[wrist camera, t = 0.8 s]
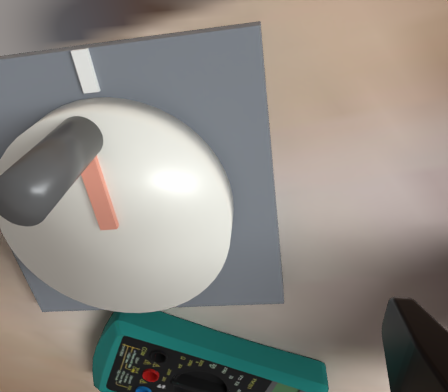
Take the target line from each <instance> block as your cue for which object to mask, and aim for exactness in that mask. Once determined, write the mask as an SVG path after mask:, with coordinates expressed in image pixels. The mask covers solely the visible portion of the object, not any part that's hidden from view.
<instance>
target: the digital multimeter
mask: <svg viewBox="0 0 448 392" xmlns="http://www.w3.org/2000/svg"><path fill="white" fill-rule="evenodd" d="M93 381H94V386H95V387H96V388H97V389H98V390H99V391H101V392H328V390H329V387H328V380H327V373H326V366H325V364H324V363H322V362H320V361H317V360H314V359H311V358H308V357H304V356H301V355H298V354H294V353H290V352H287V351H283V350H280V349H276V348H272V347H269V346H265V345H262V344H259V343H255V342H252V341H249V340H246V339H243V338H239V337H236V336H233V335H230V334H226V333H223V332H220V331H217V330H214V329H211V328H208V327H205V326H202V325H199V324H196V323H193V322H190V321H188V320H185V319H182V318H178V317H175V316H172V315H169V314H167V313H164V312H161V311H155V312H146V313H124V312H115V311H114V313H113V314H112V316H111V317H110V319H109V321H108V322H107V324H106V326H105V328H104V330H103V333H102V335H101V337H100V340H99V342H98V344H97V346H96V350H95V353H94V357H93Z"/></svg>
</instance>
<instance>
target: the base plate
mask: <svg viewBox="0 0 448 392" xmlns="http://www.w3.org/2000/svg"><path fill="white" fill-rule="evenodd" d="M102 97H111V98H122V99H128V100H133V101H137V102H141V103H144V104H147V105H150V106H153V107H156V108H158V109H160V110H162V111H164V112H166V113H168V114H170V115H172V116H174V117H175V118H177V119H178V120H180V121H182V122H183V123H185V124H186V125H187V126H189V127H190V128H191V129H192V130H193V131H195V132H196V133H197V134H198V135H199V136H200V137H201V138H202V139H203V140H204V141H205V142H206V143H207V144H208V145H209V147H210V148H211V149H212V151H213V152H214V153H215V155H216V156H217V157H218V159H219V161H220V163H221V165H222V166H223V168H224V170H225V172H226V175H227V177H228V180H229V183H230V186H231V191H232V195H233V206H234V212H233V223H232V231H231V239H230V247H229V251H228V255H227V258H226V260H225V263H224V265H223V267H222V269H221V271H220V272H219V274H218V275H217V277H216V279H215V280H214V281H213V282H212V283H211V284H210V285H209V286H208V287H207V288H206V289H205V290H204V291H202V292H201V293H200V294H199V295H197V296H196V297H194V298H192V299H191V300H189V301H187V302H185V303H183V304H180V305H178V306H175V307H196V306H225V305H254V304H283V303H284V291H283V279H282V267H281V256H280V244H279V232H278V221H277V209H276V198H275V186H274V174H273V163H272V151H271V140H270V128H269V116H268V105H267V93H266V82H265V70H264V58H263V47H262V35H261V23H260V21H259V22H252V23H244V24H237V25H229V26H222V27H214V28H207V29H199V30H192V31H184V32H177V33H169V34H162V35H154V36H147V37H139V38H132V39H124V40H117V41H109V42H102V43H94V44H87V45H79V46H72V47H64V48H57V49H49V50H42V51H34V52H27V53H19V54H12V55H4V56H0V159H1V157H2V156H3V154H4V153H5V151H6V149H7V148H8V147H9V146H10V145H11V143H12V142H13V141H14V140H15V139H16V138H17V137H18V136H20V135H21V134H22V133H24V132H25V131H26V130H27V129H29V128H30V127H31V126H33V125H34V124H35V123H37V122H38V121H39V120H41V119H42V118H43V117H45V116H46V115H47V114H49V113H50V112H51V111H53V110H55V109H57V108H59V107H61V106H63V105H66V104H69V103H72V102H75V101H78V100H83V99H89V98H102ZM11 250H12V249H11ZM12 252H13V250H12ZM13 254H14V256H15V258H16V260H17V262H18V264H19V266H20V268H21V270H22V272H23V274H24V276H25V278H26V280H27V282H28V284H29V286H30V288H31V290H32V292H33V294H34V296H35V298H36V300H37V302H38V304H39V306H40V308H41V310H42V312H52V311H81V310H104V309H100V308H96V307H93V306H89V305H86V304H84V303H81V302H79V301H76V300H74V299H72V298H70V297H68V296H66V295H64V294H62V293H60V292H58V291H57V290H55V289H53V288H52V287H50V286H49V285H47V284H46V283H44V282H43V281H42V280H40V279H39V278H38V277H37V276H36V275H34V274H33V273H32V272H31V271H30V270H29V269H28V268H27V267H26V266H25V265H24V264H23V263H22V262H21V261H20V260H19V258H18V257H17V256H16V254H15V253H14V252H13Z"/></svg>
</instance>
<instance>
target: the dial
mask: <svg viewBox="0 0 448 392" xmlns="http://www.w3.org/2000/svg"><path fill="white" fill-rule="evenodd" d="M233 212H234V206H233V195H232V191H231V186H230V183H229V180H228V177H227V175H226V172H225V170H224V168H223V166H222V165H221V163H220V161H219V159H218V157H217V156H216V155H215V153H214V152H213V151H212V149H211V148H210V147H209V145H208V144H207V143H206V142H205V141H204V140H203V139H202V138H201V137H200V136H199V135H198V134H197V133H196V132H195V131H193V130H192V129H191V128H190V127H189V126H187V125H186V124H185V123H183V122H182V121H180V120H178V119H177V118H175V117H174V116H172V115H170V114H168V113H166V112H164V111H162V110H160V109H158V108H156V107H153V106H150V105H147V104H144V103H141V102H137V101H133V100H128V99H122V98H111V97H102V98H89V99H83V100H78V101H75V102H72V103H69V104H66V105H63V106H61V107H59V108H57V109H55V110H53V111H51V112H50V113H49V114H47V115H46V116H45V117H43V118H42V119H41V120H39V121H38V122H37V123H35V124H34V125H33V126H31V127H30V128H29V129H27V130H26V131H25V132H24V133H22V134H21V135H20V136H18V137H17V138H16V139H15V140H14V141H13V142H12V143H11V145H10V146H9V147H8V148H7V149H6V151H5V153H4V154H3V156H2V157H1V159H0V229H1V232H2V234H3V236H4V238H5V239H6V241H7V243H8V245H9V246H10V248H11V249H12V250H13V252H14V253H15V254H16V256H17V257H18V258H19V260H20V261H21V262H22V263H23V264H24V265H25V266H26V267H27V268H28V269H29V270H30V271H31V272H32V273H33V274H34V275H36V276H37V277H38V278H39V279H40V280H42V281H43V282H44V283H46V284H47V285H49V286H50V287H52V288H53V289H55V290H57V291H58V292H60V293H62V294H64V295H66V296H68V297H70V298H72V299H74V300H76V301H79V302H81V303H84V304H86V305H89V306H93V307H96V308H100V309H104V310H109V311H115V312H124V313H146V312H155V311H160V310H166V309H169V308H172V307H175V306H178V305H180V304H183V303H185V302H187V301H189V300H191V299H192V298H194V297H196V296H197V295H199V294H200V293H201V292H202V291H204V290H205V289H206V288H207V287H208V286H209V285H210V284H211V283H212V282H213V281H214V280H215V279H216V277H217V275H218V274H219V272H220V271H221V269H222V267H223V265H224V263H225V260H226V258H227V255H228V251H229V247H230V239H231V231H232V223H233Z"/></svg>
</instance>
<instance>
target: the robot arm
mask: <svg viewBox="0 0 448 392" xmlns="http://www.w3.org/2000/svg"><path fill="white" fill-rule="evenodd" d="M382 339H383V346H384V352H385V358H386V365H387V371H388V378H389V384H390V390H391V392H448V331H447V330H445V329H444V328H443V327H442V326H441V325H440V324H439V323H438V322H437V321H436V320H435V319H434V318H433V317H432V316H431V315H430V314H428V313H427V312H426V311H425V310H424V309H423V308H422V307H421V306H420V305H419V304H418V303H417V302H416V301H415V300H413V299H411V298H405V297H392V298H390V300H389V302H388V305H387V309H386V312H385V316H384V320H383V323H382Z"/></svg>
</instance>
